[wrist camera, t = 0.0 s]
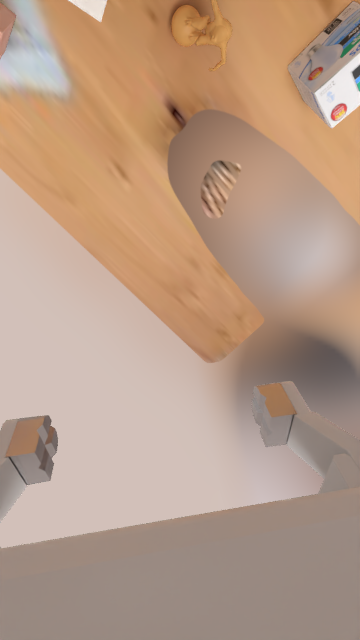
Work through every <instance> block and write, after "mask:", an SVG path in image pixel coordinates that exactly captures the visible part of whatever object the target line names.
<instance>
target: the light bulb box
mask: <svg viewBox="0 0 360 640" xmlns="http://www.w3.org/2000/svg"><path fill="white" fill-rule="evenodd" d="M288 70H289V72H290V74H291V77H292V79H293V81H294V83H295V85H296V87H297V89H298V91H299V93H300V95H301V97H302V99H303V101H304V102H305V103H306V104H307V105H308V106H309V107H310V108H311V109H312V110H313V111H314V112H315V113H316V114H317V115H318V116H319V117H320V118H321V119H322V120H323V121H324V122H325V123H326V124H327V125H328V126H329V127H330V128H333V127H334V126H335V125H337V124H338V123H339V122H340V121H341V120H343V119H344V118H345V117H346V116H347V115H349V114H350V113H351V112H352V111H353V110H354V109H356V108H357V107H358V106H359V105H360V4H359V3H357V2H354V1H353V2H352V3H351V4H350V5H349V6H348V7H347V8H346V9H345V10H344V11H343V12H342V13H341V14H340V15H339V16H338V17H337V18H336V19H335V20H334V21H333V22H332V23H331V24H330V25H329V26H328V27H327V28H326V29H324V30H323V31H322V32H321V33H320V34H319V35H318V36H317V37H316V38H315V39H314V40H313V41H312V42H311V43H310V44H309V45H308V46H307V47H306V48H305V49H304V50H303V51H302V52H301V53H300V54H299V55H298V56H297V57H296V58H295V59H294V60H293V61H292V62H291V63H290V64H289V65H288Z"/></svg>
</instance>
